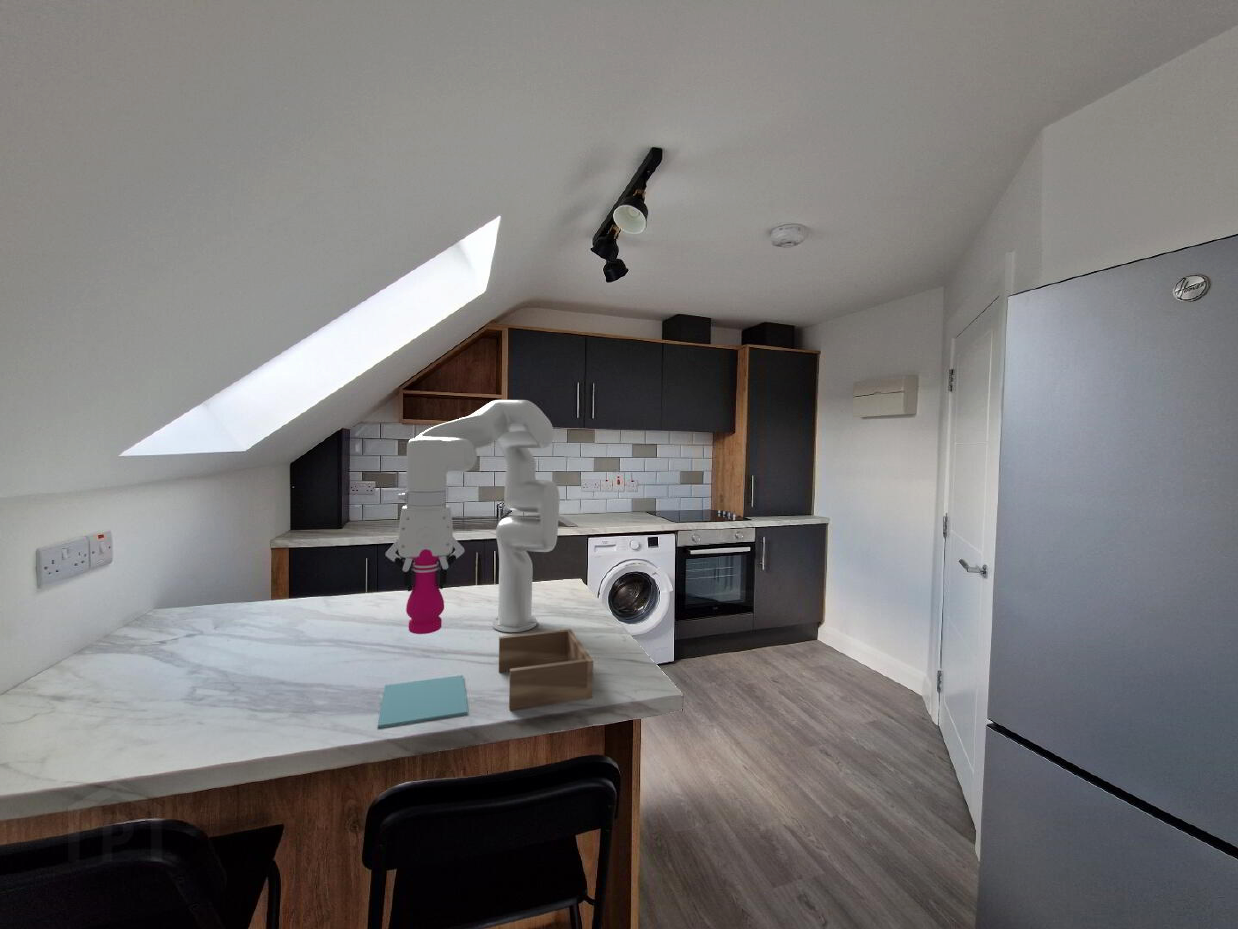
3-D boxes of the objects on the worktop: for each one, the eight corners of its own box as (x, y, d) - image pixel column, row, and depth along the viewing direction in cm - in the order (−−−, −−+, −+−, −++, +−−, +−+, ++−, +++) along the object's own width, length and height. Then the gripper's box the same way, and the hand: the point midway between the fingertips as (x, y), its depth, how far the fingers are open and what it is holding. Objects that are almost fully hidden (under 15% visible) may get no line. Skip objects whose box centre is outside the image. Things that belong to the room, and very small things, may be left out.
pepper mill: (451, 625, 105) (452, 529, 104) (427, 637, 98) (428, 535, 97) (423, 620, 107) (423, 527, 106) (397, 632, 100) (398, 532, 99)
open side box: (498, 670, 117) (499, 636, 117) (570, 661, 123) (570, 629, 123) (509, 710, 100) (510, 671, 100) (592, 697, 106) (593, 660, 106)
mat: (385, 687, 108) (385, 685, 108) (463, 677, 114) (463, 675, 114) (377, 728, 93) (377, 725, 93) (467, 714, 99) (467, 711, 99)
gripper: (377, 502, 95) (377, 597, 96) (472, 501, 101) (470, 590, 102) (381, 497, 102) (381, 586, 103) (469, 496, 108) (468, 580, 109)
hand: (425, 587), depth 102 cm, fingers closed on pepper mill, 5 cm apart
